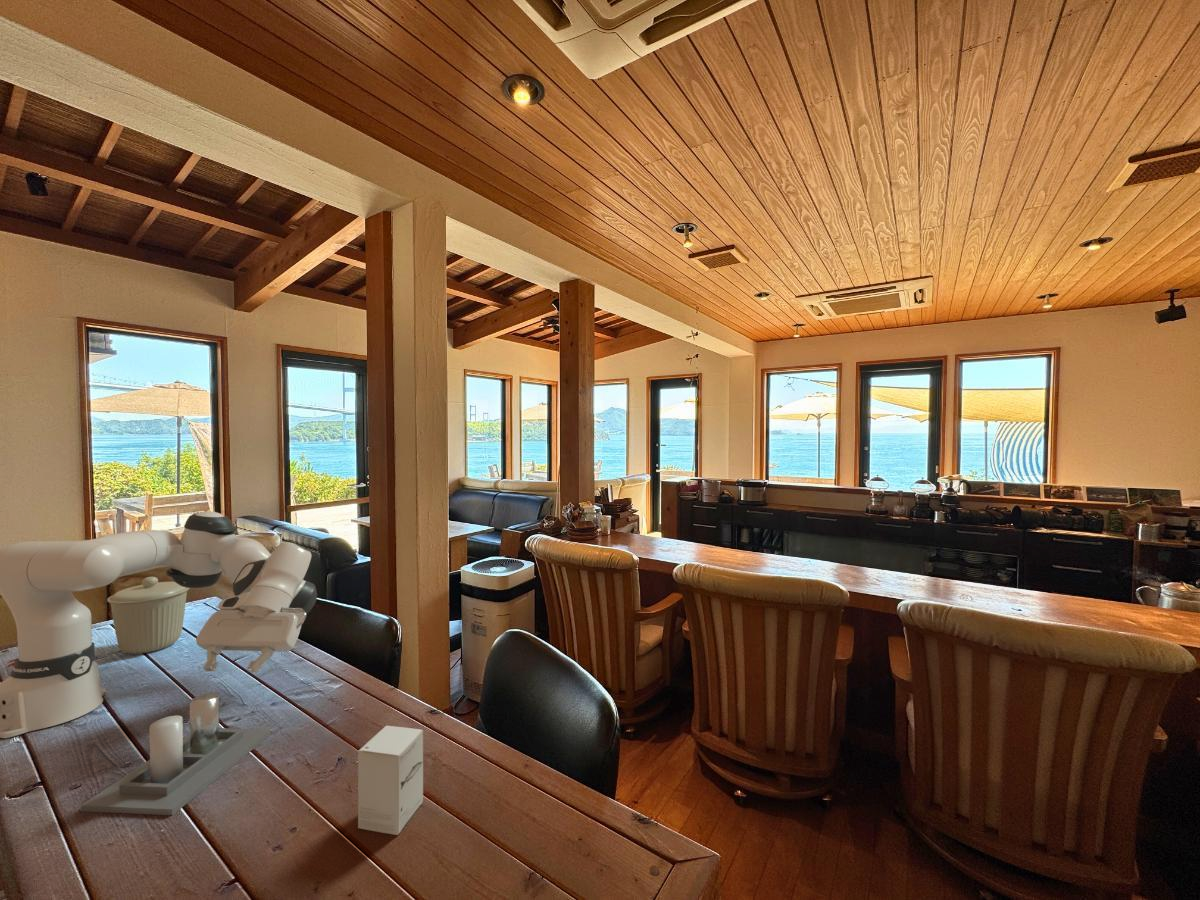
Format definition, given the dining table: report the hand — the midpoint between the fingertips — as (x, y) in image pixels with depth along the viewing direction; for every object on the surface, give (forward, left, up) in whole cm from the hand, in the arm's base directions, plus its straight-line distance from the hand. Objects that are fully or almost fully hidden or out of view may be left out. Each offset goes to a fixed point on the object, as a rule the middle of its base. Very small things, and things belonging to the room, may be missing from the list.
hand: (230, 670), depth 100 cm
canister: (-61, +42, -14) cm, 75 cm away
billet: (-1, -5, -13) cm, 14 cm away
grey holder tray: (-1, -9, -14) cm, 17 cm away
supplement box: (+43, -18, -14) cm, 49 cm away
